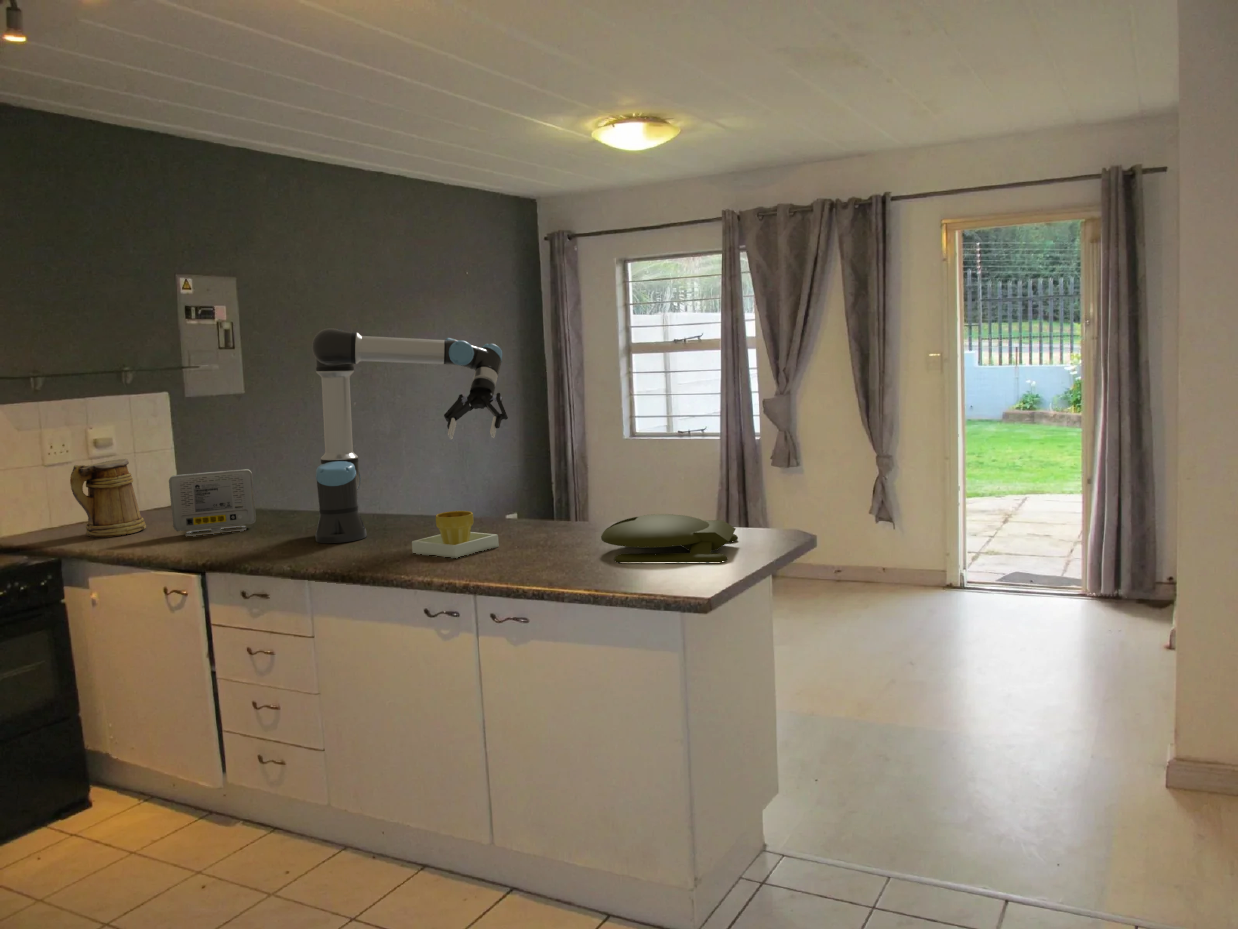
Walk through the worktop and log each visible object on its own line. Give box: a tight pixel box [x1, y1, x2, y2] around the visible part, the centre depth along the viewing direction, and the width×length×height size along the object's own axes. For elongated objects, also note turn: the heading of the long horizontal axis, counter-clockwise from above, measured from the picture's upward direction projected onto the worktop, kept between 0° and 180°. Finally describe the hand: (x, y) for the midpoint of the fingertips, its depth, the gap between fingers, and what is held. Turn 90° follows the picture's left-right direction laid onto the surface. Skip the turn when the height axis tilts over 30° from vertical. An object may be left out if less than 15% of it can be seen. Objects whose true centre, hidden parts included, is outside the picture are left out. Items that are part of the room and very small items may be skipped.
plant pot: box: [435, 510, 474, 545], centre depth 279 cm, size 10×10×10 cm
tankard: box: [69, 458, 147, 538], centre depth 336 cm, size 18×24×25 cm
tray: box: [411, 531, 500, 559], centre depth 279 cm, size 17×17×4 cm
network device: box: [168, 468, 257, 537], centre depth 330 cm, size 26×9×20 cm, turn 111°
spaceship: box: [600, 513, 739, 563], centre depth 263 cm, size 35×31×10 cm
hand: (470, 436), depth 304 cm, fingers open, 13 cm apart
